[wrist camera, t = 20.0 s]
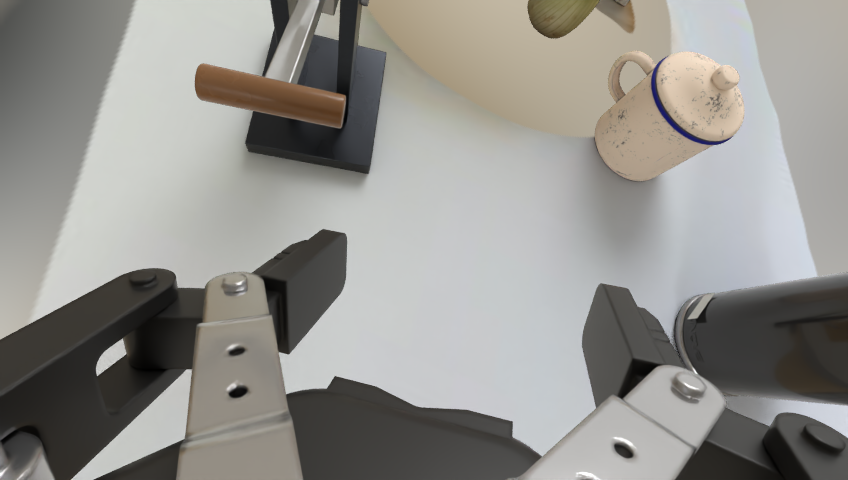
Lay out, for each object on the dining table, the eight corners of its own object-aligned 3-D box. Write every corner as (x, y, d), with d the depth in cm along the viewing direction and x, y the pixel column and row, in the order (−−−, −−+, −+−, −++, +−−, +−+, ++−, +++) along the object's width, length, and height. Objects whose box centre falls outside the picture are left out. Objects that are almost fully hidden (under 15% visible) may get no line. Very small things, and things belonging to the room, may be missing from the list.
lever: (339, 144, 18) (344, 98, 16) (200, 116, 17) (188, 64, 15) (367, 3, 26) (372, -37, 24) (276, -22, 25) (274, -66, 23)
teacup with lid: (678, 161, 44) (795, 97, 33) (627, 199, 41) (738, 142, 30) (612, 77, 45) (703, -13, 34) (558, 107, 42) (640, 20, 31)
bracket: (368, 174, 35) (395, 60, 21) (248, 151, 33) (195, 11, 19) (384, 62, 38) (416, -95, 25) (276, 36, 36) (249, -149, 23)
